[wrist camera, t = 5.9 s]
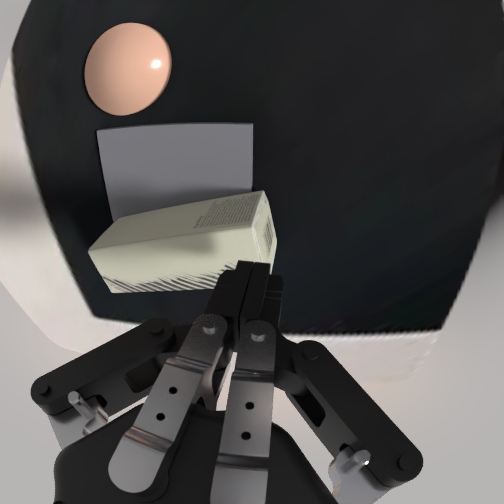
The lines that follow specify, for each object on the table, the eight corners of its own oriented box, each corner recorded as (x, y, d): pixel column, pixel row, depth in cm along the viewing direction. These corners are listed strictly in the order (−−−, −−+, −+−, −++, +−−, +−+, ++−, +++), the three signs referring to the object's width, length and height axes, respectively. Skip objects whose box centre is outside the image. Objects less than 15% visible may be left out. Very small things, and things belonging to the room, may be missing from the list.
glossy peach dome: (89, 35, 15) (83, 35, 14) (171, 15, 14) (166, 14, 14) (94, 117, 19) (88, 120, 18) (173, 109, 18) (168, 111, 18)
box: (280, 241, 22) (140, 256, 26) (266, 187, 20) (119, 215, 24) (269, 289, 18) (111, 295, 22) (251, 226, 16) (84, 250, 19)
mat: (101, 129, 20) (96, 130, 19) (253, 123, 18) (251, 124, 18) (123, 245, 26) (120, 249, 25) (251, 260, 24) (249, 265, 24)
